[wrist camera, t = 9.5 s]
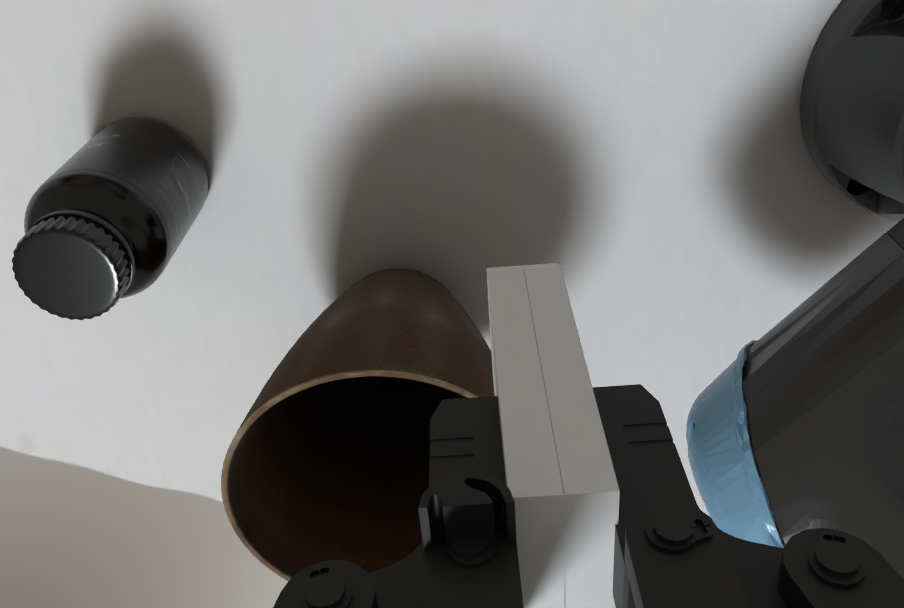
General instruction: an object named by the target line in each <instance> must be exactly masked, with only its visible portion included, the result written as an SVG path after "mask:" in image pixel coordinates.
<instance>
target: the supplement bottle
mask: <svg viewBox="0 0 904 608" xmlns="http://www.w3.org/2000/svg"><path fill="white" fill-rule="evenodd" d="M207 192H208V176H207V171H206V168H205V165H204V162H203V160H202V158H201V156H200V154H199V153H198V151H197V150H196V148H195V147H194V146H193V145H192V143H191V142H190V141H189V140H188V139H187V138H186V137H184V136H183V135H182V134H181V133H179V132H178V131H176V130H175V129H173V128H172V127H170V126H168V125H166V124H163V123H161V122H158V121H154V120H150V119H143V118H131V119H124V120H120V121H117V122H114V123H112V124H110V125H108V126H107V127H105V128H104V129H102V130H101V131H100V132H98V133H97V134H96V135H95V136H94V137H93V138H92V139H91V140H89V141H88V142H87V143H86V144H85V145H84V146H83V147H82V148H81V149H80V150H79V151H78V152H77V153H75V154H74V155H73V156H72V157H71V158H70V159H69V160H68V161H67V162H66V163H65V164H64V165H63V166H61V167H60V168H59V169H58V170H57V171H56V172H55V173H54V174H53V175H52V176H51V177H50V178H49V179H48V180H46V181H45V182H44V183H43V184H42V185H41V186H40V187H39V189H38V190H37V191H36V192H35V193H34V195H33V196H32V198H31V199H30V201H29V204H28V206H27V209H26V213H25V219H24V228H25V236H24V237H23V238H22V239H21V240H20V241H19V242H18V244H17V247H16V248H15V250H14V257H13V259H12V262H13V268H12V269H13V271H14V273H15V279H16V280H17V282H18V285H19V287H20V288H21V289H22V290H23V292H24V294H25V295H26V296H27V297H29V298H30V299H31V301H32V302H33V303H35V304H37V305H38V306H39V307H40V308H41V309H43V310H46V311H48V312H49V313H50V314H55V315H57V316H59V317H61V318H68V319H71V320H73V319H79V320H83V319H85V318H87V319H92V318H93V317H94V316H100V315H102V314H103V313H104V312H108V311H109V310H110V308H111V307H112V306H114V305H115V304H116V303H117V302H118V300H119V299H120V298H126V297H129V296H132V295H135V294H138V293H140V292H142V291H144V290H145V289H147V288H148V287H149V286H151V285H152V284H153V283H154V282H155V281H156V280H157V279H158V277H159V276H160V275H161V274H162V272H163V271H164V269H165V268H166V266H167V264H168V263H169V261H170V260H171V258H172V256H173V255H174V253H175V252H176V250H177V248H178V247H179V245H180V243H181V242H182V240H183V239H184V237H185V235H186V234H187V232H188V231H189V229H190V227H191V226H192V224H193V222H194V221H195V219H196V218H197V216H198V214H199V212H200V211H201V209H202V207H203V205H204V202H205V200H206V197H207Z"/></svg>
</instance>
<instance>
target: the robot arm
mask: <svg viewBox="0 0 904 608" xmlns="http://www.w3.org/2000/svg"><path fill="white" fill-rule="evenodd" d="M800 114H801V125H802V131H803V136H804V140H805V143H806V146H807V148H808V151H809V153H810V155H811V157H812V159H813V161H814V163H815V164H816V166H817V167H818V169H819V170H820V171H821V172H822V174H823V175H824V176H825V177H826V178H827V179H828V180H829V181H830V182H831V183H832V184H833V185H834V186H835V187H836V188H837V189H838V190H840V191H841V192H842V193H843V194H844V195H845V196H846V197H847V198H849V199H850V200H851V201H853V202H854V203H856V204H857V205H859V206H861V207H863V208H864V209H866V210H868V211H870V212H872V213H875V214H877V215H880V216H883V217H886V218H890V219H893V220H898V221H899V222H898V223H897V224H896V225H895V226H893V227H892V228H891V229H890V230H889V231H887V233H885V234H883V235H882V236H881V237H880V238H879V239H878V240H876V241H875V242H874V243H873V244H872V245H870V246H869V247H868V248H867V249H866V250H865V251H863V252H862V253H861V254H860V255H859V256H857V257H856V258H855V259H854V260H853V261H852V262H850V263H849V264H848V265H847V266H846V267H844V268H843V269H842V270H841V271H840V272H839V273H837V274H836V275H835V276H834V277H833V278H831V279H830V280H829V281H828V282H827V283H826V284H824V285H823V286H822V287H821V288H820V289H818V290H817V291H816V292H815V293H814V294H813V295H811V296H810V297H809V298H808V299H807V300H805V301H804V302H803V303H802V304H801V305H800V306H798V307H797V308H796V309H795V310H794V311H792V312H791V313H790V314H789V315H788V316H787V317H785V318H784V319H783V320H782V321H781V322H779V323H778V324H777V325H776V326H775V327H774V328H772V329H771V330H770V331H769V332H768V333H766V334H765V335H764V336H763V337H762V338H761V339H759V340H758V341H754V340H753V341H751V342H749V343H748V344H746V345H745V346H744V347H743V348H742V349H741V351H740V352H739V354H738V357H737V359H736V360H735V361H734V362H733V363H732V364H731V365H730V366H729V367H728V368H727V369H726V370H725V371H724V372H723V373H722V374H720V375H719V376H718V377H717V378H716V379H715V380H714V381H713V382H712V383H711V384H710V385H709V386H708V387H707V388H706V389H705V390H704V391H703V392H702V393H701V394H700V395H699V396H698V397H697V398H696V400H695V402H694V403H693V405H692V408H691V410H690V412H689V415H688V420H687V432H686V438H687V443H688V457H689V462H690V466H691V469H692V473H693V476H694V479H695V482H696V485H697V487H698V490H699V493H700V495H701V497H702V500H703V502H704V504H705V506H706V509H707V511H708V513H709V515H710V517H711V518H710V517H709V516H708V515H706V514H705V513H704V512H702V511H701V510H700V509H699V507H698V505H697V503H696V501H695V498H694V495H693V492H692V490H691V487H690V484H689V482H688V479H687V476H686V474H685V471H684V468H683V465H682V463H681V460H680V457H679V455H678V452H677V449H676V447H675V444H674V443H673V438H672V436H671V433H670V430H669V428H668V426H667V422H666V419H665V417H664V414H663V411H662V409H661V406H660V403H659V401H658V400H657V399H655V398H654V397H653V396H652V395H651V394H650V393H649V392H648V391H647V390H646V389H645V388H644V387H643V386H642V385H641V384H639V385H625V386H610V387H595V388H592V384H591V380H590V377H589V373H588V369H587V365H586V362H585V358H584V354H583V350H582V346H581V343H580V339H579V335H578V331H577V327H576V324H575V320H574V316H573V312H572V308H571V305H570V301H569V297H568V293H567V289H566V286H565V282H564V278H563V274H562V270H561V267H560V263H547V264H533V265H519V266H506V267H492V268H486V271H487V287H488V304H489V320H490V337H491V353H492V370H493V383H494V393H495V396H488V397H473V398H458V399H443V400H442V401H441V402H440V404H439V406H438V407H437V409H436V410H435V412H434V414H433V415H432V417H431V418H430V461H429V488H428V489H427V490H426V491H425V492H424V493H423V494H422V497H421V500H420V504H419V507H418V510H419V518H420V525H421V533H422V540H423V541H422V542H421V544H420V545H419V546H418V547H417V548H416V549H415V551H414V552H413V553H411V554H410V555H408V556H407V557H406V558H404V559H403V560H401V561H399V562H397V563H395V564H392V565H390V566H388V567H385V568H382V569H379V570H376V571H373V572H370V573H367V572H366V571H364V570H363V569H362V568H361V567H360V566H359V565H356V564H353V563H350V562H347V561H344V560H329V561H322V562H319V563H316V564H313V565H310V566H307V567H306V568H304V569H303V570H301V571H300V572H299V573H297V574H296V575H294V576H293V577H292V578H291V579H290V580H289V582H288V583H287V584H286V586H285V587H284V589H283V590H282V591H281V593H280V595H279V597H278V599H277V601H276V603H275V605H274V607H273V608H615V607H616V608H904V0H844V1H843V3H842V4H841V5H840V6H839V8H838V9H837V10H836V12H835V13H834V14H833V16H832V17H831V19H830V20H829V22H828V23H827V25H826V27H825V28H824V30H823V32H822V34H821V35H820V37H819V39H818V41H817V43H816V45H815V47H814V50H813V52H812V55H811V57H810V60H809V63H808V66H807V69H806V73H805V76H804V81H803V86H802V92H801V105H800Z"/></svg>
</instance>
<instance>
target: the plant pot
mask: <svg viewBox="0 0 904 608" xmlns="http://www.w3.org/2000/svg"><path fill="white" fill-rule="evenodd" d="M488 396H495V393H494V383H493V370H492V353H491V350H490V349H489V347H488V345H487V343H486V342H485V340H484V338H483V337H482V335H481V333H480V332H479V330H478V329H477V327H476V326H475V324H474V323H473V321H472V320H471V318H470V317H469V316H468V314H467V313H466V312H465V311H464V309H463V308H462V307H461V305H460V304H459V303H458V302H457V300H456V299H455V298H454V297H453V296H452V295H451V294H450V293H449V292H448V291H447V289H446V288H445V287H444V286H443V285H441V284H440V283H439V282H438V281H436V280H435V279H433V278H431V277H430V276H428V275H425V274H423V273H420V272H417V271H413V270H406V269H390V270H384V271H380V272H377V273H374V274H371V275H369V276H367V277H366V278H364V279H362V280H361V281H360V282H358V283H357V284H355V285H354V286H353V287H351V288H350V289H349V290H347V291H346V292H345V293H344V294H342V295H341V296H340V297H339V298H338V299H336V300H335V301H334V302H333V303H332V304H331V305H330V306H329V307H328V308H327V309H326V310H325V311H324V312H323V313H322V314H321V315H320V316H319V317H318V318H317V319H316V320H315V321H314V322H313V323H312V324H311V325H310V326H309V327H308V329H307V330H306V331H305V332H304V333H303V334H302V335H301V337H300V338H299V339H298V340H297V342H296V343H295V344H294V345H293V347H292V348H291V349H290V350H289V352H288V353H287V354H286V356H285V357H284V359H283V360H282V361H281V363H280V364H279V365H278V367H277V368H276V370H275V371H274V373H273V374H272V376H271V377H270V379H269V380H268V381H267V383H266V384H265V386H264V388H263V389H262V391H261V393H260V394H259V396H258V398H257V399H256V401H255V403H254V404H253V406H252V407H251V409H250V411H249V412H248V414H247V416H246V417H245V419H244V421H243V423H242V424H241V426H240V428H239V430H238V431H237V433H236V435H235V437H234V438H233V440H232V442H231V444H230V446H229V448H228V451H227V454H226V457H225V460H224V463H223V469H222V476H221V490H222V499H223V504H224V507H225V511H226V514H227V516H228V519H229V521H230V523H231V525H232V527H233V529H234V531H235V532H236V534H237V536H238V537H239V538H240V540H241V541H242V543H243V544H244V545H245V546H246V547H247V549H248V550H249V551H250V552H251V553H252V554H253V555H254V557H256V558H257V559H258V560H259V561H260V562H261V563H262V564H263V565H265V566H266V567H268V568H269V569H270V570H272V571H273V572H274V573H276V574H277V575H279V576H280V577H282V578H284V579H285V580H287V581H288V582H289V580H290V579H291V578H292V577H293V576H294V575H296V574H297V573H299V572H300V571H301V570H303V569H304V568H306V567H307V566H310V565H313V564H316V563H319V562H322V561H329V560H344V561H347V562H350V563H353V564H356V565H359V566H360V567H361V568H362V569H363V570H364V571H366V572H367V573H370V572H373V571H376V570H379V569H382V568H385V567H388V566H390V565H392V564H395V563H397V562H399V561H401V560H403V559H404V558H406V557H407V556H408V555H410V554H411V553H413V552H414V551H415V549H416V548H417V547H418V546H419V545H420V544H421V542H422V541H423V540H422V533H421V525H420V518H419V510H418V507H419V504H420V500H421V497H422V494H423V493H424V492H425V491H426V490H427V489H428V488H429V461H430V418H431V417H432V415H433V414H434V412H435V410H436V409H437V407H438V406H439V404H440V402H441V401H442V400H443V399H458V398H473V397H488Z"/></svg>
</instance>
